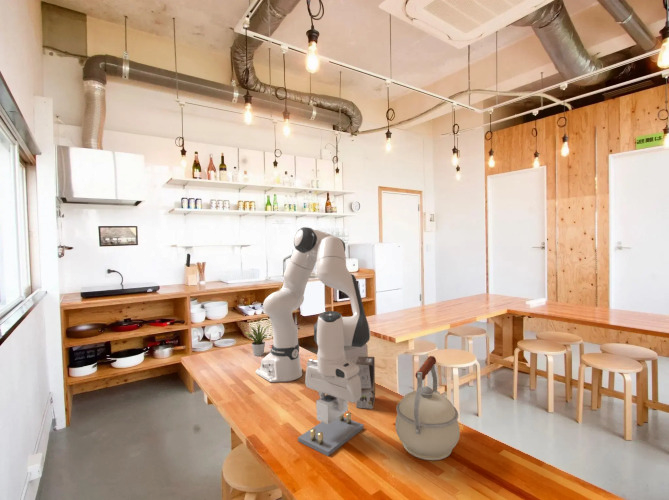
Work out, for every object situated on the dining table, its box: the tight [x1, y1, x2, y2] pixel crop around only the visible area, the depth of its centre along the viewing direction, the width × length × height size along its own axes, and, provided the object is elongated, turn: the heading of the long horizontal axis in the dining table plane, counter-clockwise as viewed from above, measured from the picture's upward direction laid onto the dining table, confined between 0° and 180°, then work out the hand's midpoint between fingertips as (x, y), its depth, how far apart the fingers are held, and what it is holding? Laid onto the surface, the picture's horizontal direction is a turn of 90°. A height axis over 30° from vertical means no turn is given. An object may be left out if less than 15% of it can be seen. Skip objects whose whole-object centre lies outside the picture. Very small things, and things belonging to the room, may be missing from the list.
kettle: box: [394, 355, 461, 461], centre depth 104 cm, size 25×18×25 cm
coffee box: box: [355, 356, 376, 410], centre depth 130 cm, size 9×6×16 cm
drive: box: [315, 394, 349, 424], centre depth 110 cm, size 4×10×6 cm, turn 142°
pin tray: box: [297, 412, 365, 457], centre depth 110 cm, size 12×18×4 cm, turn 141°
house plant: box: [244, 323, 272, 357], centre depth 187 cm, size 14×14×16 cm
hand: (332, 407), depth 110 cm, fingers closed on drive, 4 cm apart
